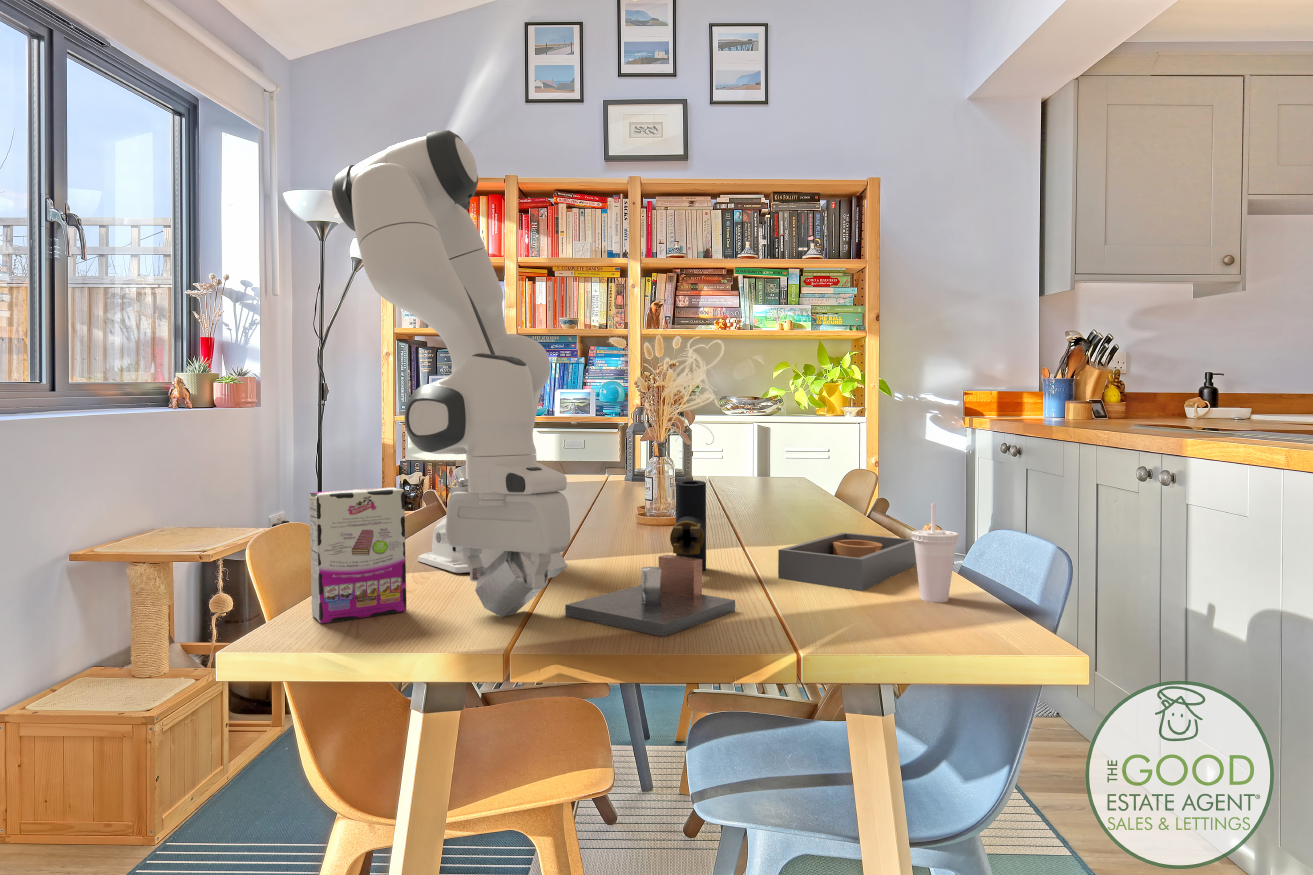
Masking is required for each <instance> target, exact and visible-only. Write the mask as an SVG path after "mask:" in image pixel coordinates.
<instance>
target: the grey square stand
mask: <svg viewBox="0 0 1313 875" xmlns="http://www.w3.org/2000/svg"><path fill="white" fill-rule="evenodd" d="M564 608H565V612H564V613H565V617H566V618H567V617H568V618H573V619H578V620H582V621H587V622H591V623H596V624H601V625H605V626H610V627H615V628H620V629H623V630H624V629H625V630H630V631H633V632H638V633H644V634H648V635H654V636H658V637H662V638H665V637H667V636H669V635H673V634H675V633H678V632H681V631H684V630H686V629H689V628H692V627H695V626H697V625H700V624H703V623H706V622H709V621H711V620H714V619H717V618H719V617H722V616H725V615H728V614H732V613H733V612H735V611H736V599H733V598H732V599H731V598H725V597H719V596H713V595H708V594H703V572H702V559H697V558H689V557H682V556H676V555H675V554H674V555H673V554H664V555H659V556H658V566H644V567H641V584H639V585H638V584H637V585H635V586H632V587H628V588H623V589H619V590H616V591H612V592H608V593H604V594H601V595H597V596H594V597H589V598H585V599H581V600H578V601H574V602H570V603H566V604H565V607H564Z"/></svg>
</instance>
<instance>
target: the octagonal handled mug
mask: <svg viewBox="0 0 1313 875" xmlns="http://www.w3.org/2000/svg"><path fill="white" fill-rule="evenodd" d="M534 563H535V562H532V561H531V553H524V552H512V551H504V552H503V553H502V554H501V555H500V556H499V557H498V558H497V559H496V560H495V561H494V562H493V563H492V564H490V565H489V566H488V567H487V568H486V569H485V570H484V571H483V572H482V573H481V574H480V575H479V577H478V581H477V582H476V586H475V588H474V592H475V593H476V595H477V596H478V598H479V599H478V600H480V602H481V605H482V606H483V608H484V609H486V610H487V611H489V612H491V613H493V614H495V615H497V616H498V617H499V618H504V617H507V616H508V617H509V616H511V615H514V614H516V613H518V612H519V611H520V610H521V609H522V608H524V606H525V605H526V604H528V603H529V602H530V601H531V600H533V598H534V597H536V596H537V594H538V593H540V592H542V590H543V589H545V587H546V586H547V585H548V580H549V579H552V578H554V577H555V578H556V577H557V576H558V575H559V574H560V573H561V572H563V571H564V570H565V569H566V568H567V567H568V564H567V563H566V560H565V559H564V557H563V555H562V554H561V552H560V553H555V554H551V561H550V564H549V566H548V568H547V570H546V573H545V574H544V577H545V585H544V587H543V588H541V589H530V588H527V580H526V575H528V574H531V572H532V569H533V566H534Z"/></svg>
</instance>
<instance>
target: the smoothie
mask: <svg viewBox="0 0 1313 875" xmlns="http://www.w3.org/2000/svg"><path fill="white" fill-rule="evenodd" d="M936 505H937V504H936V502H931V513H930V514H931V520H930V521H931V522H930V523H931V524H930V525H931V527H930V529H917V530H913V531H912V532H911V539H913V540H914V546H915V555H916V563H917V565H916V571H917V581H918V589H919V596H920V600H922V601H924V602H928V603H945V602H948V601H949V596H950V590H951V582H952V577H953V576H952V575H953V568H954V563H955V562H954V560H955V554H956V548H957V543H958V542H960V539H959V533H958V532H955V531H949V530H942V529H936Z"/></svg>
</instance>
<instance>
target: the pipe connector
mask: <svg viewBox="0 0 1313 875" xmlns="http://www.w3.org/2000/svg"><path fill="white" fill-rule="evenodd" d="M669 535H670V536H669V541H670V545H671V546H672V553H673V554H675V556H682V557H689V558H697V559H702V573H704V572H706V571H707V482H705V481H704V480H703V481H702V480H698V479H697V480H696V479H691V480H690V479H687V480H685V479H684V480H679V481H676V482H675V523H674V525H673V527H672V530H671V532H670V534H669Z"/></svg>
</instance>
